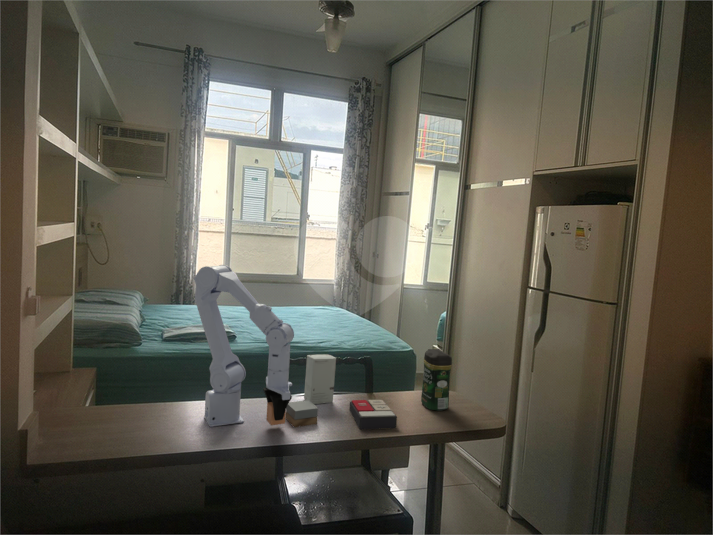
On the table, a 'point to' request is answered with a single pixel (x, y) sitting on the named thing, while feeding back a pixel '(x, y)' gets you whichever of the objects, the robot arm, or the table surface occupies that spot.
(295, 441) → the table surface
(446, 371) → the coffee jar
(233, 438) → the table surface
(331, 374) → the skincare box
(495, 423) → the table surface
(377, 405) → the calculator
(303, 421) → the tower base slab
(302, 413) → the tower top slab
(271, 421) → the terracotta block
